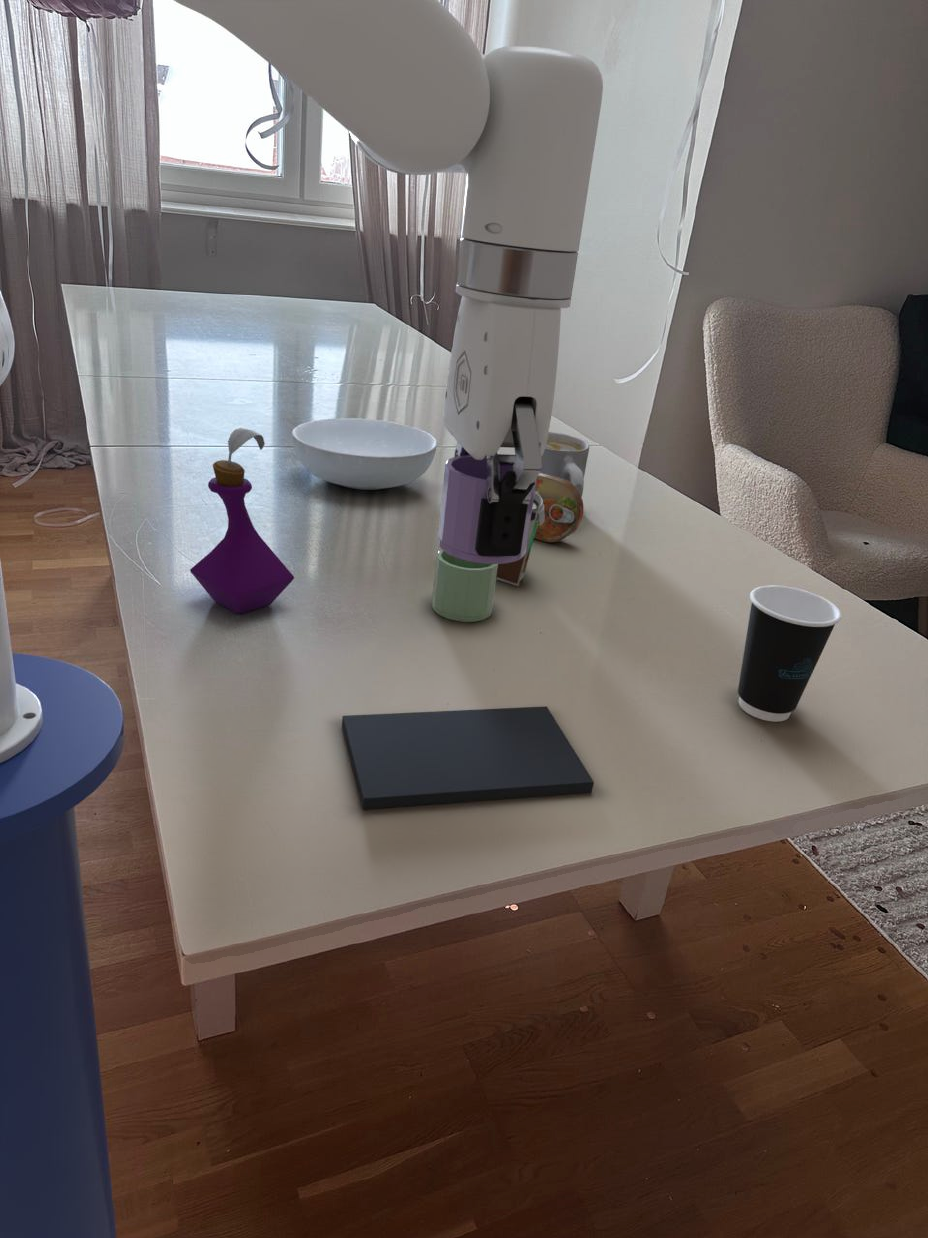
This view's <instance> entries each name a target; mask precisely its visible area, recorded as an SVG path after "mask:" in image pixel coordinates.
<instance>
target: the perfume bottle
mask: <svg viewBox="0 0 928 1238" xmlns="http://www.w3.org/2000/svg"><path fill="white" fill-rule="evenodd" d="M251 439H254V440H255V441H256V443H257V445H258V448H259V451H262V450H263V449H264V447H265V445H266V444H265V440H264V436H263V435H262V434H260V433H259V432H257V431H256V430H253V429H248V428H244V427H243V428H242V427H238V428H236V429H234V430H233V431H232V432H231V433H230V435H229V438H228V440H227V446H228V459H227V460H226V459H220V460H217V461H215V462H214V463H212V468H213V473H214V477H212V478H211V479H210V480H209V481H208V484H207V488H208V489H209V490H210V492H211V493H214V494H217V495H218V496H219V497H220V499H221V501H222V502H223V505H224V507H225V510H226V514H227V519H228V520H227V529H226V533H225V535H224V537H223V538H222V539H221V540H220V541H219V542H218V543H217V545H215V546H214V548H213V549H212V550H211V551H210V552H209V553H208V554H207V555H205V556H204V557H203V558H202V559H201V560H200V561H198V562H197V563H196V564H195V565H193V566H192V567H191V568H190V569H189V571H190V573H191V574H192V576H193V577H194V578H195V579H196V580H197V582H198V583H199V584H200V586H201V587H202V588H203V589H204V590H205V592H206V593H207V594H208V595H209V596H210V598H211V599H212V600H213V601H214V602H215V603H216V604H218V605H221V606H222V607H224V608H226V609H227V610H229V611H231V612H233V613H234V614H235V615H242V614H245V613H248V612H251V611H254V610H258V609H260V608H264V607H268V606H270V605H271V604H272V603H274V601H275V600H276V599H277V598H278V597H279V596H280V595H281V594H282V592H284V591H285V589H286V588H287V587H288V586H289V585H290V584H291V583H292V582H293V581H294V579H295V576H294V575H293V573H292V572H291V571H290V570H289V569H288V568H287V567H286V565H285V564H284V563H283V561H282V560H280V558H279V557H278V556H277V555H276V554H275V552H274V551H273V550H272V549H271V547H270V546H269V545H268V544H267V542H265V540H264V539H263V538H262V537H261V536H260V534H259V533H258V531H257V530H256V528H255V527H254V524H253V521H252V519H251V517H250V515H249V511H248V509H247V507H246V503H245V497H246V494H248V493H250V492H251V490H252V489H253V486H252V483H251V482H250V481H249V479H247V478H245V472H246V471H245V469H244V468H243V466H242V465H241V464H239V463H238V462H235V461H232V454H234V453H235V452H236V451H237V450H238V449H240V448H241V447H242V446H243V445H245V444H246V443H247V442H248V441H249V440H251Z"/></svg>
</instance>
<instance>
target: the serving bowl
mask: <svg viewBox="0 0 928 1238" xmlns="http://www.w3.org/2000/svg"><path fill="white" fill-rule="evenodd" d="M291 437H292V444H293V450H294V452H295V454H296V457H297V459H298V461H299V462H300V464H302V466H303V467H304V468H305V469H306V470H307V471H308V472H309V473H311V474H312V475H313V476H315V477H317V478H319V479H321V480H323V481H325V482H328V483H331V484H334V485H338V486H342V487H344V488H349V489H353V490H361V491H362V490H364V491H376V490H377V491H379V490H383V489H390V488H396V487H401V486H404V485H407V484H410V483H412V482H414V481H416V480H417V479H419V478H420V477H422V475H424V474H425V473H426V471H427V470H428V469H429V468H430V467H431V465H432V463H433V461H434V458H435V456H436V455H435V454H436V451H437V447H438V441H437V439H436V438H435V437H434V436H433V435H432V434H430V433H429V432H427V431H424V430H422V429H420V428H417V427H413V426H410V425H407V424H402V423H398V422H393V421H387V420H380V419H373V418H370V419H369V418H358V417H357V418H356V417H355V418H353V417H350V418H349V417H339V418H324V419H317V420H311V421H307V422H303V423H301V424H298V425H297V426H296V427H294V428H293V429H292V431H291Z"/></svg>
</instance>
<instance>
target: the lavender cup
mask: <svg viewBox="0 0 928 1238" xmlns="http://www.w3.org/2000/svg"><path fill="white" fill-rule="evenodd" d="M512 470H513V466H500V480H501V479H502V477H503V476H504V474H505V473H506V472H507V471H512ZM536 481H537V478H536V479H535V481H534V482H535V485H533V488H532V490H531V500H530V503H529V504H528V507H527V513H526V520H525V527H524V534H523V540H522V547H521V552H520V554H519V555H517V556H480V555H478V553H477V552H476V550H475V545H476V537H477V529H478V521H479V513H480V505H481V499H487V455H485V458H484V459H483V460H476V459H474V458H473V457H472V456H471V455H462V456H456V457H451V458H448V459H447V461H446V462H445V464H444V473H443V482H442V490H441V491H442V492H441V501H440V510H439V511H440V512H439V520H438V528H437V529H438V531H437V545H438V547H439V548H440V550H441V549H442V550H443V551H444V552H446V553H448V554H449V555H451V556H454V557H456V558H459V559H462V560H466V561H470V562H476V563H484V564H504V563H510V562H514V561H517V560H519V559H521V558H522V557H523V556H524V555H525V553H526V546H527V540H528V533H529V527H530V520H531V514H532V507H533V500H534V494H535V487H536Z"/></svg>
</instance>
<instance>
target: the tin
mask: <svg viewBox="0 0 928 1238" xmlns="http://www.w3.org/2000/svg"><path fill="white" fill-rule="evenodd" d="M535 492H536V493H537V494H538V495H540V497H541V498H542V500H543V504H544V513H545V521H544V523H543V524H542V525H539V521H538V525H537V528H536V532H535V536H534V539H535V540H538V541H541V542H545V543H556V542H560V541H563V540H565V539H566V538H567V537H569V536H571V535H572V534H574V533H575V532H576V531H577V530H578V528H579V527H580V525H581V524H582V520H583V517H584V502H583V501H584V499H583V497H581V495H580V493H579V492H578V490H577V489H576V487H575V486H574V485H573V484H571V483H570V482H568V481H567V480H565V479H562V478H558V477H554V476H550V475H546V474H542V473H539V475H538V476H537V481H536V487H535Z"/></svg>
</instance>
